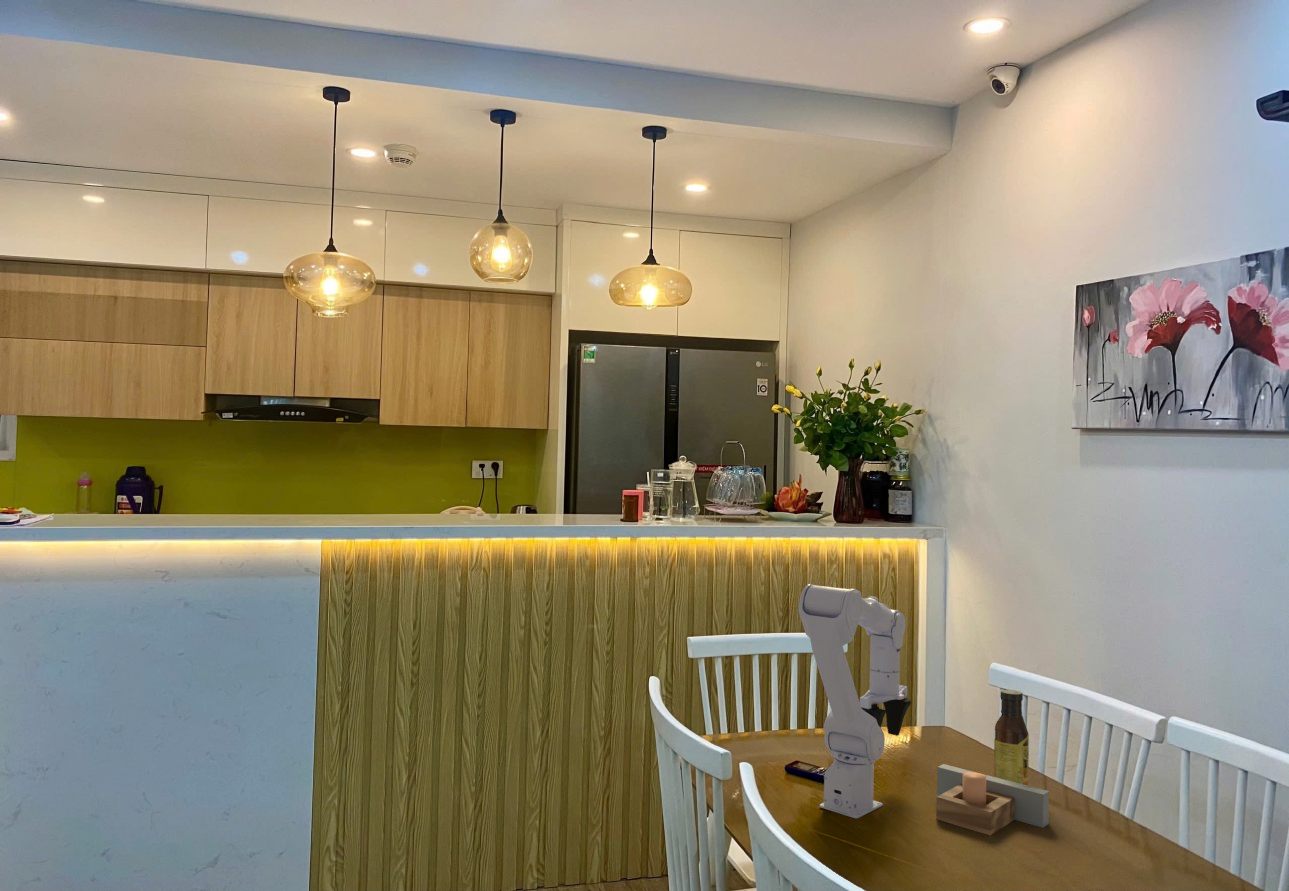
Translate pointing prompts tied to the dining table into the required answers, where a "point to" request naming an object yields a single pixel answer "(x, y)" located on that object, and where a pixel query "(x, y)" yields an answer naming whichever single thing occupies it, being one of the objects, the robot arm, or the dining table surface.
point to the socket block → (975, 811)
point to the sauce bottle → (1011, 740)
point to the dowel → (974, 788)
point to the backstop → (1027, 799)
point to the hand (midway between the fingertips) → (883, 738)
